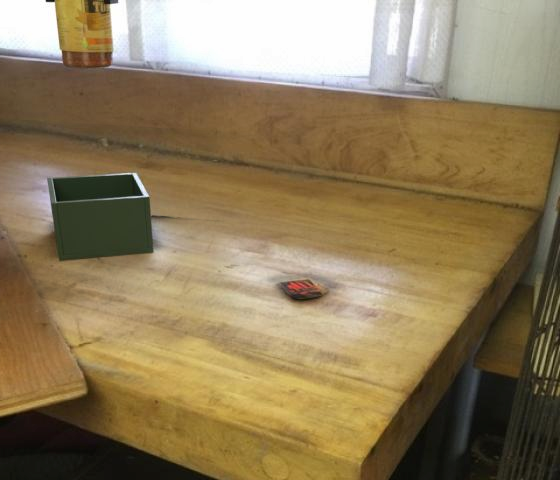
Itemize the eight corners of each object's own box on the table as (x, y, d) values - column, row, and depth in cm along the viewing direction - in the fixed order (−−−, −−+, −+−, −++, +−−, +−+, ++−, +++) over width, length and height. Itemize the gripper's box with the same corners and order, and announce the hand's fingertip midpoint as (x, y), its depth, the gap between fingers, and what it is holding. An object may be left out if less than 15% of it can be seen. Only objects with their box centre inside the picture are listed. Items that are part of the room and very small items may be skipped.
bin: (59, 260, 79) (50, 203, 76) (54, 230, 88) (47, 177, 84) (153, 252, 82) (149, 196, 79) (140, 223, 91) (136, 172, 87)
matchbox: (299, 303, 70) (299, 299, 70) (270, 286, 74) (270, 282, 73) (335, 293, 73) (335, 289, 72) (305, 277, 76) (305, 273, 76)
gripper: (-58, -270, 67) (-12, 1, 79) (135, -273, 65) (153, 6, 77) (-19, -250, 73) (18, -2, 85) (159, -252, 71) (171, 3, 83)
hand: (82, 2), depth 81 cm, fingers closed on sauce bottle, 6 cm apart
